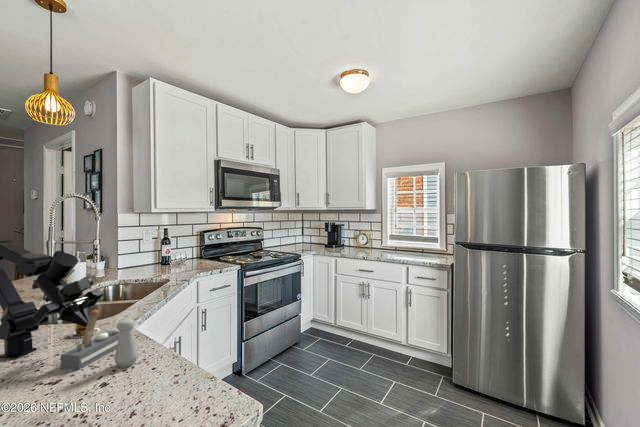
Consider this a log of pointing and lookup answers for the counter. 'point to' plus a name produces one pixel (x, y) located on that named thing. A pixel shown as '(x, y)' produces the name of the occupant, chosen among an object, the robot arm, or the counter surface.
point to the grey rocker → (113, 330)
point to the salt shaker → (126, 344)
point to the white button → (102, 336)
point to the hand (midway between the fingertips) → (88, 325)
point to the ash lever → (90, 327)
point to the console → (89, 352)
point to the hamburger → (81, 331)
